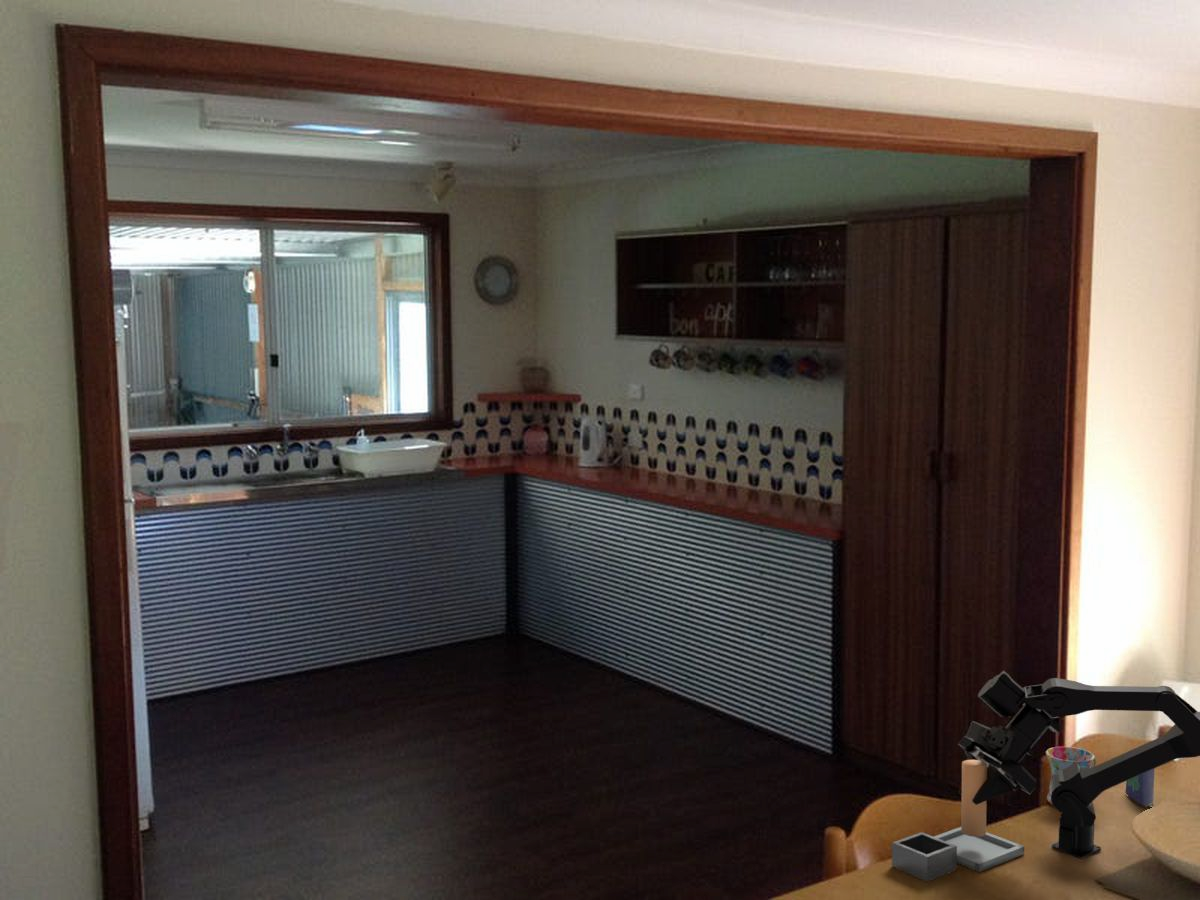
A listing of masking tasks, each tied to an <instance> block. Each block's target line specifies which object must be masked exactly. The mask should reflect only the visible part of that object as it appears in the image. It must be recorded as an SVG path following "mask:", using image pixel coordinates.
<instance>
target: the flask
mask: <svg viewBox="0 0 1200 900" xmlns="http://www.w3.org/2000/svg"><path fill="white" fill-rule="evenodd" d="M1155 769H1156V768H1154V769H1152V770H1150V771H1147V772H1145V773H1143V774H1141V775H1138V776H1136V777H1134V778H1132V779H1129V780H1127V781H1125V782H1126V783H1125V790H1124V791H1125V792H1124V794H1125V793H1126V794H1127V795H1128V797H1129V798H1130V799H1131V801H1132V800H1133V801H1134V802H1133V803H1135V804H1136V803H1137V805H1138V806H1140V807H1142V808H1143V807H1144V809H1148V808H1147V807H1149V806H1153V807H1154V800H1155V799H1154V788H1155V786H1154V785H1155V782H1154V781H1155ZM1126 794H1125V795H1126ZM1128 797H1127V798H1128ZM1129 798H1128V799H1129ZM1130 799H1129V800H1130Z"/></svg>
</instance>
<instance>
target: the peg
mask: <svg viewBox="0 0 1200 900" xmlns="http://www.w3.org/2000/svg"><path fill="white" fill-rule="evenodd" d="M987 769H988V768H987V764H986V763H985V762H983V761H979V760H968V759H966V760H963V761H962V762H961V784H962V795H961V817H960V818H961V823H960V824H961V825H960V827H961V832H962V833H963V834H965V835H968V836H973V837H980V836H984V835H985V834H986V832H987V801H984V802H982V803H980V804H977V805H976V804H974V803H973V802H972V800H973V798H974V796H975V795H976V793H977V792H978V790H979V789H980V788H981V786H982V785H983V784H984V782H985V781H986V779H987Z"/></svg>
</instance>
